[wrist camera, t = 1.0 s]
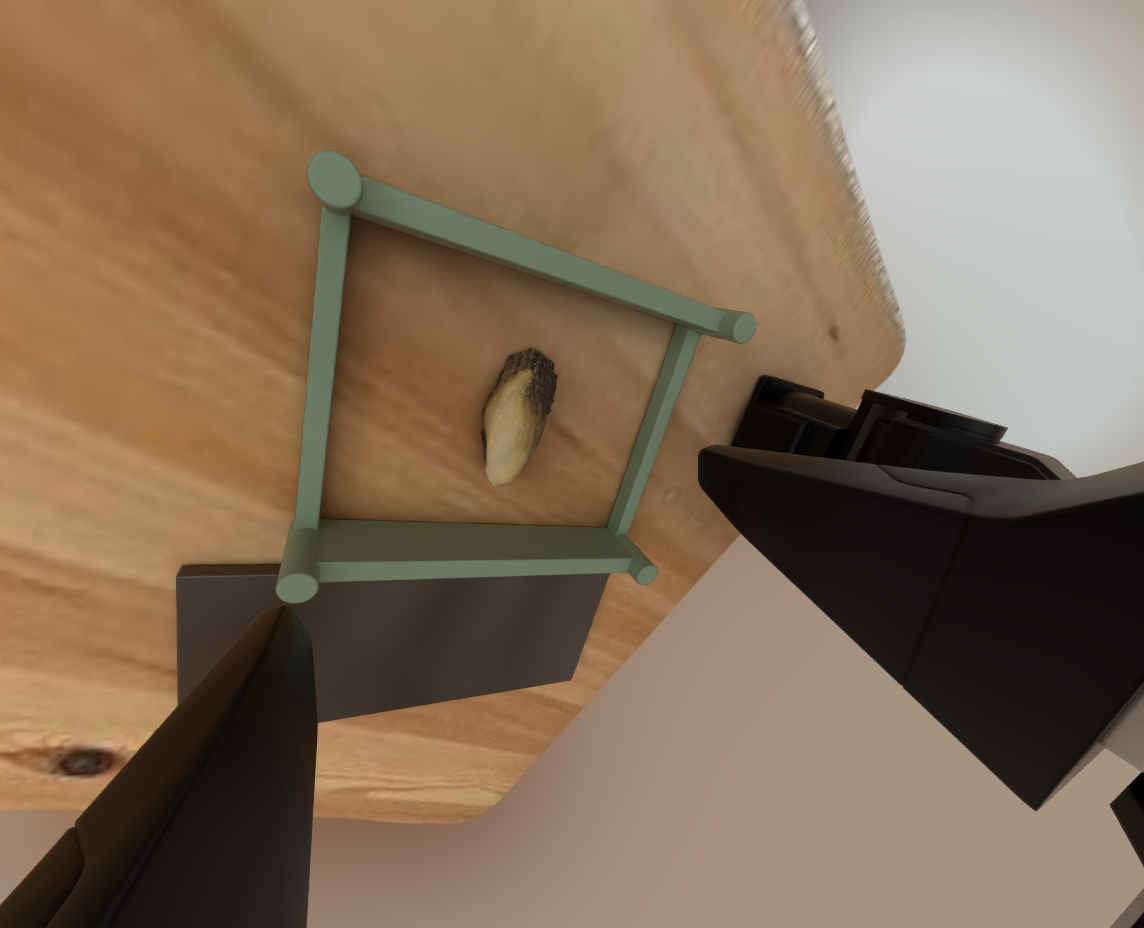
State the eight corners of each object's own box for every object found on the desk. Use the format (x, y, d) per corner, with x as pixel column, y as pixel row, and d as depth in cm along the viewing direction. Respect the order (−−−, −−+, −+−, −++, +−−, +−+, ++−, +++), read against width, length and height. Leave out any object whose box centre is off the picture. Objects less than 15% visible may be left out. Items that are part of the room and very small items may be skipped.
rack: (699, 306, 24) (761, 317, 21) (615, 542, 29) (653, 585, 25) (318, 166, 15) (308, 140, 12) (288, 540, 20) (274, 605, 16)
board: (606, 559, 29) (612, 566, 29) (567, 672, 32) (571, 680, 32) (181, 565, 19) (175, 576, 18) (183, 732, 22) (177, 747, 21)
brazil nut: (493, 488, 23) (520, 505, 21) (428, 424, 20) (452, 435, 18) (569, 404, 25) (602, 411, 22) (519, 334, 22) (551, 334, 20)
